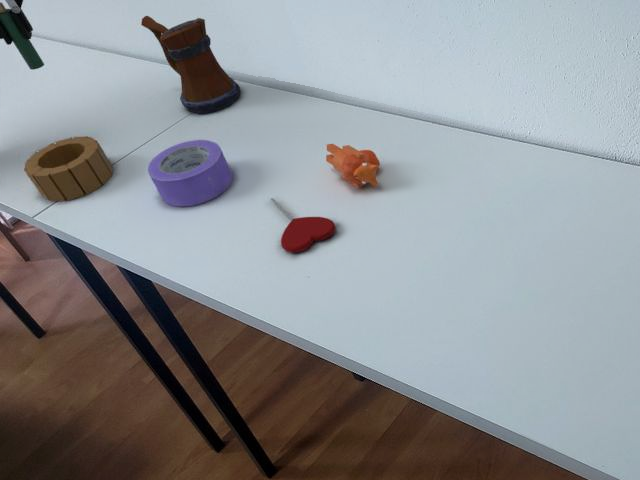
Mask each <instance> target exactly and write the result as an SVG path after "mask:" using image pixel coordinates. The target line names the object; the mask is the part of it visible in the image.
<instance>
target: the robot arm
mask: <svg viewBox="0 0 640 480" xmlns="http://www.w3.org/2000/svg"><path fill="white" fill-rule="evenodd" d="M4 1H5V2H6V4H7V5H8V8H9V9H11V12H12V18H13V19H14V21H15V23H16V24H17V26H18V27H19V29H20V31H21V32H22V34H23V35H24V37H25V39H27V40H28V39H29V40H31V39H32V36H33V32H34V28H33V26H32V24H31V23H30V21H29V19H28V18H27V15H26V14H25V12H24V11H23V10H22V5H23V3H24V0H4ZM0 40H4V42H5V44H6V45H7V46H10V45H12V43H13V41H12V40H11V38H10V36H9V35H8V33H7V32H6V30H5V29H4V27H3V25H2V24H1V22H0Z"/></svg>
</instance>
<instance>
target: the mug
mask: <svg viewBox="0 0 640 480" xmlns="http://www.w3.org/2000/svg"><path fill="white" fill-rule="evenodd" d="M141 26H142V27H143V28H146V29H148V30H149V31H150V32H151V33H152V34H153V36H154V37H155V38H156V40H157V41H158V44H159V46H160V47H161V49H162V51H163V54H164V57H165V59H166V62H167V63H168V64H169V67H170V68H172V69H173V71H174V72H176V73H177V74H178V76H180V83H181V93H180V98H179V100H180V102H181V104H182V106H183V107H184V108H185V109H187V110H188V111H189V112H192V113H196V114H201V115H203V114H204V115H205V114H208V113H214V112H217V111H220V110H222V109H225V108H228V107H230V106H231V105H232V104H233V103H234V102H236V101H237V100H238V99H239V96H240V94H241V87H240V85H239V84H238V83H237V81H235V80H234V78H232V77H230V76H229V75H228V73H227V72H226V71H225V70H224V68H222V66H221V65H220V63H219V62H218V60H217V58H216V56H215V55H214V53H213V51H212V48H211V45H212V44H211V41H212V39H211V37H210V36H209V35H208V34H207V28H206V19H204V18H201V17H197V18H196V19H192V20H187V21H185V22H182V23H179V24H177V25H175V26H172V27H170V28H168V27H166V26H165V25H163V24H161V23H159V22H158V21H156V20H155V19H154V18H152V17H151V16H149V15H144V16H143V17H142V18H141Z"/></svg>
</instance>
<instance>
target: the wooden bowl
mask: <svg viewBox="0 0 640 480" xmlns="http://www.w3.org/2000/svg"><path fill="white" fill-rule="evenodd" d="M23 171H24V173H25V174H26V176H27V177H28V178H29V180H30V181H31V183H32V184H33V185H34V186H35V188H36V189H37V190H38V192H39V193H40V195H41V196H42V197H43V198H45V199H46V200H47V201H51V202H67V201H72V200H75V199H77V198H78V199H79V198H81V197H84V196H85V195H89V194H91V193H93V192H94V191H96V190H98V189H100V188H102V186H104V185H105V184H106V183H107V182H108V181H109V180H110V178H111V177H112V176H113V175H114V166H113V165H112V162H111V161H110V159H109V157H108V156H107V154H106V152H105V151H104V149H103V148H102V146H101V144H100V143H99V142H98V140H97V139H95V138H93V137H91V136H73V137H71V136H70V137H68V138H65V139H60V140H58V141H57V140H56V141H55V143H54V142H52V143H49V144H48V145H46V146H43V147H42V148H40V149H38V151H36V152H34V153H33V154H32V155H31V156H30V157H28V159H27V160H26V161H25V163H24V168H23Z"/></svg>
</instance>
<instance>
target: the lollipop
mask: <svg viewBox="0 0 640 480" xmlns="http://www.w3.org/2000/svg"><path fill="white" fill-rule="evenodd" d="M270 200H271V202H273V204H275V205H276V207H278V208H279V209H280V210H281V211H282V212H283V213H284V214H285V215H286V216H287V217H288V218H289V219H290V222H289V223H288V225H287V226H286V227H285V229H284V231H283V233H282V235H281V239H280V244H281V247H282V249H283V250H285V251H286V252H288V253H294V254H295V253H296V254H297V253H300V252H301V253H302V252H304V251H305V250H307V249H309V248H310V247H311V246H312V245H313V242H319V241H320V242H321V241H324V240H327V239H328V238H330V237H331V236H332V235H334V233H335V231H336V224H335V223H334V221H333V220H331V219H330V218H327V217H322V216H304V217H296V218H294V217H293V216H292V215H291V214H289V212H287V211H286V210H285V208H284V207H282V206H281V205H280V203H278V201H276V200H275V198H273V197H271V198H270Z"/></svg>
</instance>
